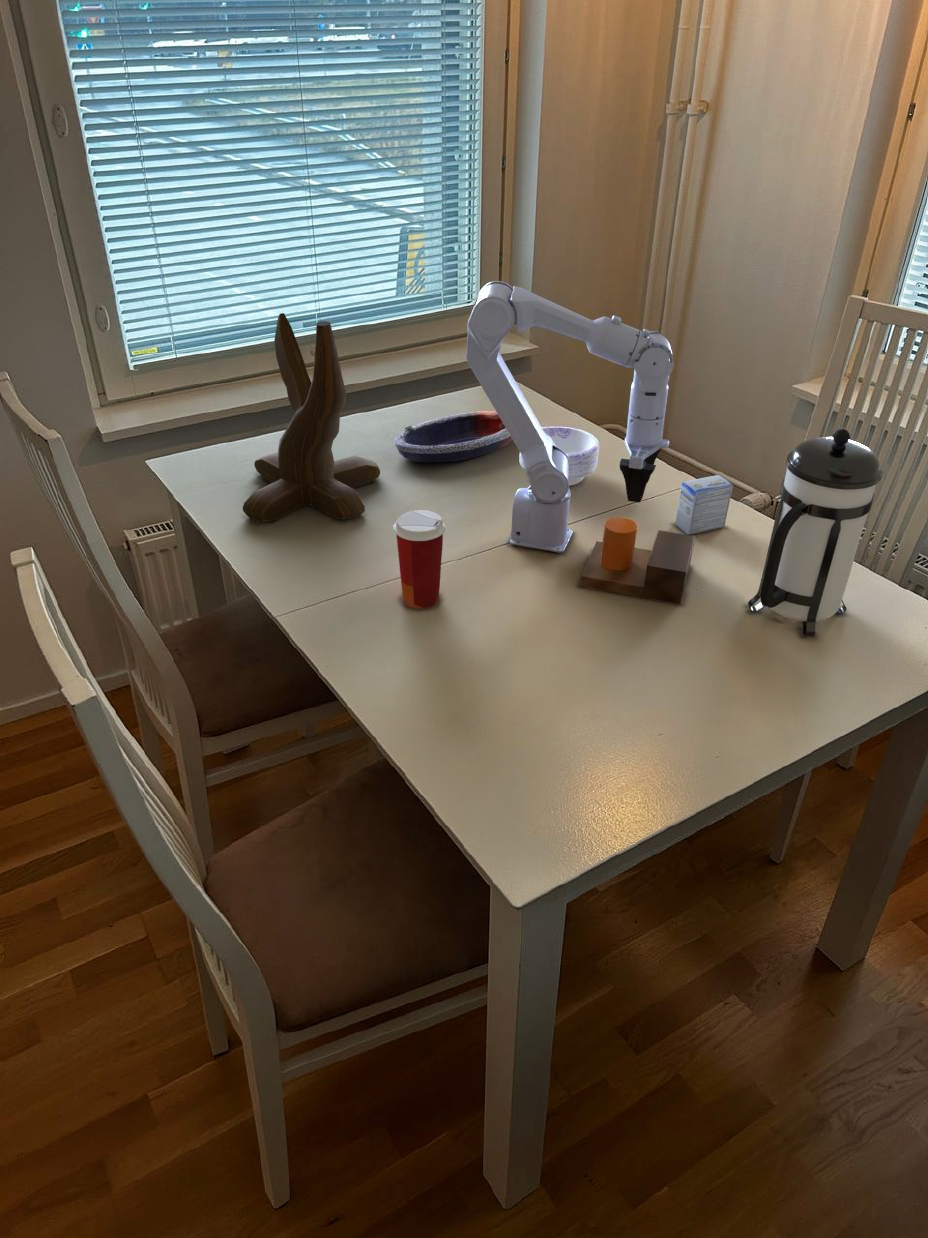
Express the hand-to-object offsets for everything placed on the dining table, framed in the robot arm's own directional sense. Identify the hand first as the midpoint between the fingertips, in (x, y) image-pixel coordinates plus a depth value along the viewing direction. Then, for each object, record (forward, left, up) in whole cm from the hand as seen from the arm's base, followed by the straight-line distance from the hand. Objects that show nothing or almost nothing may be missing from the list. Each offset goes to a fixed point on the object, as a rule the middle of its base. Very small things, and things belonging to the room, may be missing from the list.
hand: (638, 490), depth 153 cm
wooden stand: (-61, -1, -11) cm, 62 cm away
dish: (-40, +29, -11) cm, 51 cm away
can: (-1, -10, -8) cm, 13 cm away
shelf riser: (+3, -10, -10) cm, 15 cm away
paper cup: (-28, -28, -11) cm, 41 cm away
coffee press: (+28, -13, -11) cm, 32 cm away
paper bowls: (-18, +22, -11) cm, 31 cm away
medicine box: (+11, +11, -11) cm, 19 cm away
